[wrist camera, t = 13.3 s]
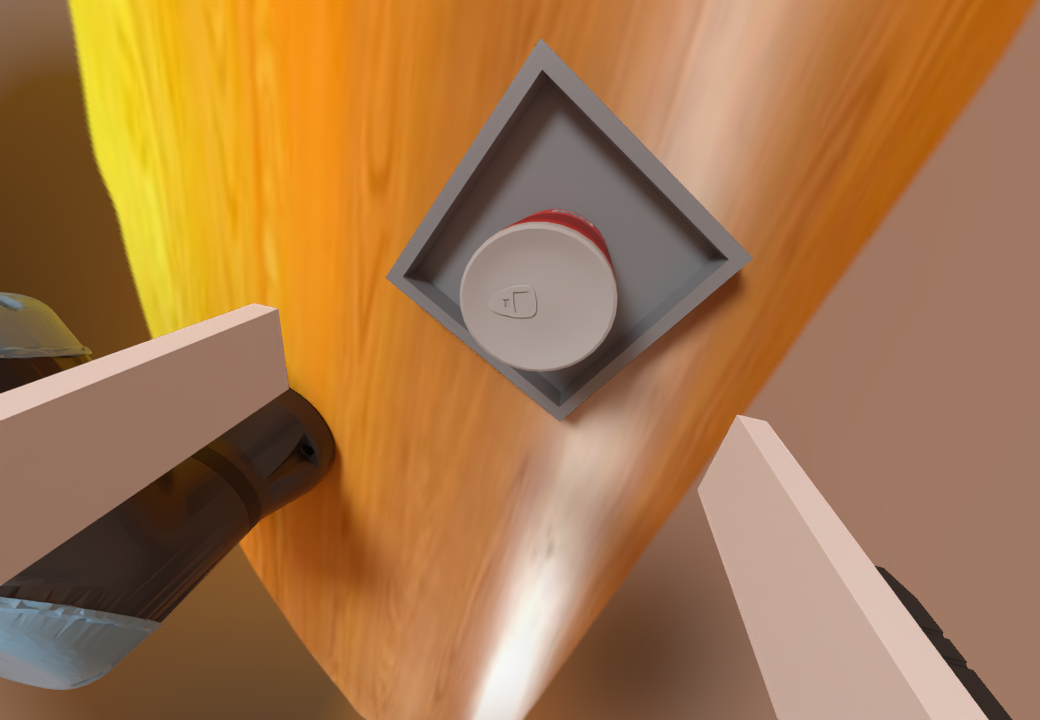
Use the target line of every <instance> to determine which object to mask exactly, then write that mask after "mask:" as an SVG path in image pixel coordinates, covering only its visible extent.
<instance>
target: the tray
mask: <svg viewBox="0 0 1040 720" xmlns="http://www.w3.org/2000/svg"><path fill="white" fill-rule="evenodd" d="M549 209H562V210H567V211H572V212H574V213H577V214H579V215H581V216H583V217H585V218H586V219H587V220H589V221H590V222H592V223H593V224H594V226H595V227H596V228H597V229H598V230H599V231H600V233H601V235H602V236H603V238H604V240H605V243H606V246H607V249H608V252H609V255H610V259H611V262H612V266H613V269H614V273H615V276H616V282H617V291H618V301H617V310H616V315H615V318H614V321H613V324H612V327H611V329H610V331H609V333H608V334H607V336H606V338H605V339H604V341H603V342H602V343H601V344H600V345H599V347H598V348H597V349H596V350H595V351H594V352H593V353H591V354H590V355H589V356H587V357H586V358H585V359H583V360H581V361H579V362H577V363H575V364H573V365H571V366H569V367H565V368H562V369H558V370H553V371H543V372H540V371H527V370H523V369H518V368H514V367H512V366H509V365H507V364H505V363H502V362H500V361H499V360H497V359H496V358H494V357H492V356H491V355H489V354H488V353H487V352H486V351H485V350H484V349H483V348H482V347H480V346H479V344H478V343H477V342H476V341H475V339H474V338H473V337H472V335H471V334H470V332H469V330H468V328H467V326H466V324H465V322H464V319H463V315H462V312H461V307H460V287H461V280H462V277H463V274H464V271H465V268H466V266H467V264H468V263H469V261H470V259H471V258H472V256H473V255H474V253H475V252H476V251H477V250H478V249H479V248H480V246H481V245H482V244H483V243H484V242H485V241H486V240H488V239H489V238H490V237H492V236H493V235H495V234H496V233H498V232H499V231H501V230H502V229H504V228H506V227H508V226H510V225H512V224H514V223H516V222H518V221H520V220H522V219H524V218H526V217H528V216H530V215H532V214H534V213H537V212H540V211H544V210H549ZM752 259H753V258H752V257H751V256H750V255H749V253H748V252H747V251H746V250H745V249H744V248H743V247H742V246H741V245H740V244H739V243H738V242H737V241H736V240H735V239H734V238H733V237H732V236H731V235H730V234H729V233H728V232H727V231H726V230H725V229H724V228H723V227H722V225H721V224H720V223H719V222H718V221H717V220H716V219H715V218H714V217H713V216H712V215H711V214H710V213H709V212H708V211H707V210H706V209H705V208H704V207H703V206H702V205H701V204H700V203H699V202H698V201H697V200H696V199H695V197H694V196H693V195H692V194H691V193H690V192H689V191H688V190H687V189H686V188H685V187H684V186H683V185H682V184H681V183H680V182H679V181H678V180H677V179H676V178H675V177H674V176H673V175H672V174H671V173H670V172H669V171H668V169H667V168H666V167H665V166H664V165H663V164H662V163H661V162H660V161H659V160H658V159H657V158H656V157H655V156H654V155H653V154H652V153H651V152H650V151H649V150H648V149H647V148H646V147H645V146H644V145H643V144H642V143H641V141H640V140H639V139H638V138H637V137H636V136H635V135H634V134H633V133H632V132H631V131H630V130H629V129H628V128H627V127H626V126H625V125H624V124H623V123H622V122H621V121H620V120H619V119H618V118H617V117H616V116H615V115H614V113H613V112H612V111H611V110H610V109H609V108H608V107H607V106H606V105H605V104H604V103H603V102H602V101H601V100H600V99H599V98H598V97H597V96H596V95H595V94H594V93H593V92H592V91H591V90H590V89H589V88H588V87H587V85H586V84H585V83H584V82H583V81H582V80H581V79H580V78H579V77H578V76H577V75H576V74H575V73H574V72H573V71H572V70H571V69H570V68H569V67H568V66H567V65H566V64H565V63H564V62H563V61H562V60H561V59H560V57H559V56H558V55H557V54H556V53H555V52H554V51H553V50H552V49H551V48H550V47H549V46H548V45H547V44H546V43H545V42H544V41H543V40H542V39H541V38H540V40H539V41H538V43H537V45H536V46H535V48H534V49H533V51H532V52H531V54H530V55H529V57H528V58H527V60H526V62H525V63H524V65H523V66H522V68H521V69H520V71H519V72H518V74H517V75H516V77H515V79H514V80H513V82H512V83H511V85H510V86H509V88H508V89H507V91H506V92H505V94H504V96H503V97H502V99H501V100H500V102H499V103H498V105H497V106H496V108H495V109H494V111H493V113H492V114H491V116H490V117H489V119H488V120H487V122H486V123H485V125H484V126H483V128H482V130H481V131H480V133H479V134H478V136H477V137H476V139H475V140H474V142H473V144H472V145H471V147H470V148H469V150H468V151H467V153H466V154H465V156H464V157H463V159H462V161H461V162H460V164H459V165H458V167H457V168H456V170H455V171H454V173H453V174H452V176H451V178H450V179H449V181H448V182H447V184H446V185H445V187H444V188H443V190H442V191H441V193H440V195H439V196H438V198H437V199H436V201H435V202H434V204H433V205H432V207H431V208H430V210H429V212H428V213H427V215H426V216H425V218H424V219H423V221H422V222H421V224H420V225H419V227H418V229H417V230H416V232H415V233H414V235H413V236H412V238H411V239H410V241H409V242H408V244H407V246H406V247H405V249H404V250H403V252H402V253H401V255H400V256H399V258H398V260H397V261H396V263H395V264H394V266H393V267H392V269H391V270H390V272H389V273H388V275H387V277H386V278H387V279H388V280H389V281H390V282H391V283H393V284H394V285H395V286H396V287H397V288H399V289H400V290H401V291H402V292H404V293H405V294H406V295H407V296H408V297H410V298H411V299H412V300H413V301H414V302H416V303H417V304H418V305H419V306H420V307H422V308H423V309H424V310H425V311H427V312H428V313H429V314H430V315H431V316H433V317H434V318H435V319H436V320H437V321H439V322H440V323H441V324H442V325H443V326H445V327H446V328H447V329H448V330H449V331H451V332H452V333H453V334H454V335H456V336H457V337H458V338H459V339H460V340H462V341H463V342H464V343H465V344H466V345H468V346H469V347H470V348H471V349H472V350H474V351H475V352H476V353H477V354H479V355H480V356H481V357H482V358H483V359H485V360H486V361H487V362H488V363H489V364H491V365H492V366H493V367H494V368H495V369H497V370H498V371H499V372H500V373H502V374H503V375H504V376H505V377H506V378H508V379H509V380H510V381H511V382H512V383H514V384H515V385H516V386H517V387H518V388H520V389H521V390H522V391H523V392H525V393H526V394H527V395H528V396H529V397H531V398H532V399H533V400H534V401H535V402H537V403H538V404H539V405H540V406H541V407H543V408H544V409H545V410H546V411H548V412H549V413H550V414H551V415H552V416H554V417H555V418H556V419H557V420H558V421H561V420H562V419H564V418H565V417H566V416H567V415H568V414H569V413H571V412H572V411H573V410H574V409H575V408H577V407H578V406H579V405H580V404H581V403H583V402H584V401H585V400H586V399H587V398H588V397H590V396H591V395H592V394H593V393H594V392H596V391H597V390H598V389H599V388H600V387H601V386H603V385H604V384H605V383H606V382H607V381H609V380H610V379H611V378H612V377H613V376H614V375H616V374H617V373H618V372H619V371H620V370H622V369H623V368H624V367H625V366H626V365H628V364H629V363H630V362H631V361H632V360H633V359H635V358H636V357H637V356H638V355H639V354H641V353H642V352H643V351H644V350H645V349H646V348H648V347H649V346H650V345H651V344H652V343H654V342H655V341H656V340H657V339H658V338H660V337H661V336H662V335H663V334H664V333H665V332H667V331H668V330H669V329H670V328H671V327H673V326H674V325H675V324H676V323H677V322H678V321H680V320H681V319H682V318H683V317H684V316H686V315H687V314H688V313H689V312H690V311H691V310H693V309H694V308H695V307H696V306H697V305H699V304H700V303H701V302H702V301H703V300H705V299H706V298H707V297H708V296H709V295H710V294H712V293H713V292H714V291H715V290H716V289H718V288H719V287H720V286H721V285H722V284H723V283H725V282H726V281H727V280H728V279H729V278H731V277H732V276H733V275H734V274H735V273H736V272H738V271H739V270H740V269H741V268H742V267H744V266H745V265H746V264H747V263H748V262H750V261H751V260H752Z"/></svg>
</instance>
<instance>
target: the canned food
mask: <svg viewBox="0 0 1040 720" xmlns="http://www.w3.org/2000/svg"><path fill="white" fill-rule="evenodd" d="M617 301H618V291H617V282H616V276H615V273H614V269H613V266H612V262H611V259H610V255H609V252H608V249H607V246H606V243H605V240H604V238H603V236H602V235H601V233H600V231H599V230H598V229H597V228H596V227H595V226H594V224H593V223H592V222H590V221H589V220H587V219H586V218H585V217H583V216H581V215H579V214H577V213H574V212H572V211H567V210H562V209H549V210H544V211H540V212H537V213H534V214H532V215H530V216H528V217H526V218H524V219H522V220H520V221H518V222H516V223H514V224H512V225H510V226H508V227H506V228H504V229H502V230H501V231H499V232H498V233H496V234H495V235H493V236H492V237H490V238H489V239H488V240H486V241H485V242H484V243H483V244H482V245H481V246H480V248H479V249H478V250H477V251H476V252H475V253H474V255H473V256H472V258H471V259H470V261H469V263H468V264H467V266H466V268H465V271H464V274H463V277H462V280H461V287H460V307H461V312H462V315H463V319H464V322H465V324H466V326H467V328H468V330H469V332H470V334H471V335H472V337H473V338H474V339H475V341H476V342H477V343H478V344H479V346H480V347H482V348H483V349H484V350H485V351H486V352H487V353H488V354H489V355H491V356H492V357H494V358H496V359H497V360H499V361H500V362H502V363H505V364H507V365H509V366H512V367H514V368H518V369H523V370H527V371H540V372H543V371H553V370H558V369H562V368H565V367H569V366H571V365H573V364H575V363H577V362H579V361H581V360H583V359H585V358H586V357H587V356H589V355H590V354H591V353H593V352H594V351H595V350H596V349H597V348H598V347H599V345H600V344H601V343H602V342H603V341H604V339H605V338H606V336H607V334H608V333H609V331H610V329H611V327H612V324H613V321H614V318H615V315H616V310H617Z"/></svg>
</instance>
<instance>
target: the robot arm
mask: <svg viewBox="0 0 1040 720" xmlns="http://www.w3.org/2000/svg"><path fill="white" fill-rule="evenodd" d="M91 353H92V352H91V351H90V349H89V348H87V347H84V346H82V345H81V344H80V343H79V341H78V340H77V339H76V338H75V337H74V336H73V334H72V333H71V332H70V331H69V330H68V328H67V327H66V326H65V325H64V323H63V322H62V321H61V320H60V318H59V317H58V316H57V315H56V314H55V313H54V311H52V309H51V308H49V307H48V306H47V305H45V304H44V303H42V302H40V301H38V300H36V299H34V298H31V297H28V296H24V295H19V294H13V293H0V677H3V678H6V679H9V680H13V681H16V682H20V683H24V684H28V685H32V686H37V687H42V688H48V689H57V690H60V689H61V690H66V689H74V688H78V687H82V686H85V685H88V684H90V683H92V682H94V681H96V680H98V679H99V678H101V677H102V676H104V675H105V674H107V673H108V672H109V671H110V670H112V669H113V668H114V667H115V666H116V665H117V664H118V663H119V662H120V661H121V660H122V659H124V658H125V657H126V656H127V655H128V654H129V653H130V652H131V651H132V650H133V649H134V648H135V647H137V646H138V645H139V644H140V643H141V642H142V641H143V640H144V639H145V638H146V637H148V636H149V634H151V633H152V632H154V631H156V630H157V629H158V628H159V627H160V626H161V622H162V621H163V620H164V619H165V618H166V617H167V616H168V615H169V614H170V613H171V612H172V611H173V610H174V609H175V608H176V607H177V606H178V605H179V604H180V603H181V601H183V600H184V598H185V597H186V596H187V595H188V594H189V593H190V592H191V591H192V590H193V589H194V588H195V587H196V586H197V585H198V584H199V583H200V582H201V581H202V580H203V579H204V578H205V577H206V576H207V575H208V574H209V573H210V572H211V571H212V570H213V569H214V568H215V566H216V565H217V564H218V563H219V562H220V561H221V560H222V559H223V558H224V557H225V556H226V555H227V554H228V553H229V552H230V551H231V550H232V549H233V548H234V547H235V546H236V545H237V544H238V543H239V542H240V541H241V540H242V539H243V538H244V537H245V535H246V534H247V533H248V532H249V531H250V530H251V529H252V528H253V527H254V526H255V525H256V524H257V523H258V522H259V521H260V520H261V519H263V518H264V517H266V516H268V515H270V514H271V513H273V512H275V511H276V510H278V509H280V508H282V507H283V506H285V505H287V504H289V503H290V502H292V501H294V500H295V499H297V498H299V497H301V496H302V495H304V494H306V493H308V492H309V491H311V490H312V489H313V488H314V487H315V486H316V485H317V484H318V483H319V482H320V481H321V480H322V479H323V478H324V477H325V476H326V474H327V473H328V472H329V471H330V469H331V467H332V465H333V462H334V454H335V453H334V444H333V440H332V437H331V434H330V432H329V429H328V428H327V426H326V424H325V422H324V421H323V419H322V418H321V416H320V415H319V414H318V413H317V411H316V410H315V409H314V408H313V407H312V406H311V405H310V404H309V403H308V402H307V401H306V400H305V399H304V398H302V397H301V396H300V395H299V394H297V393H296V392H294V391H293V390H291V389H290V388H289V385H288V378H287V370H286V363H285V355H284V348H283V340H282V333H281V325H280V318H279V310H278V309H277V308H273V307H269V306H264V305H260V304H256V303H253V304H250V305H248V306H245V307H242V308H239V309H236V310H234V311H231V312H228V313H225V314H222V315H220V316H217V317H214V318H211V319H208V320H206V321H203V322H200V323H197V324H194V325H192V326H189V327H186V328H183V329H180V330H178V331H175V332H172V333H169V334H166V335H164V336H161V337H158V338H155V339H152V340H150V341H147V342H144V343H142V344H138V345H136V346H133V347H130V348H127V349H124V350H122V351H119V352H116V353H113V354H110V355H108V356H105V357H102V358H99V359H96V360H94V361H92V360H91V359H90V357H89V356H88V354H91ZM697 491H698V493H699V496H700V499H701V502H702V505H703V508H704V510H705V513H706V516H707V519H708V522H709V525H710V528H711V530H712V533H713V536H714V539H715V542H716V545H717V548H718V550H719V553H720V556H721V559H722V562H723V565H724V567H725V570H726V573H727V576H728V579H729V581H730V585H731V587H732V590H733V593H734V596H735V599H736V602H737V605H738V607H739V610H740V613H741V616H742V619H743V622H744V624H745V627H746V630H747V633H748V636H749V639H750V642H751V644H752V647H753V650H754V653H755V656H756V659H757V661H758V664H759V667H760V670H761V673H762V675H763V678H764V681H765V684H766V687H767V690H768V693H769V696H770V699H771V701H772V704H773V707H774V710H775V713H776V716H777V718H778V720H1012V719H1011V718H1010V716H1009V715H1008V714H1007V712H1006V711H1005V710H1004V709H1003V707H1002V706H1001V705H1000V703H999V702H998V701H997V700H996V698H995V697H994V696H993V695H992V693H991V692H990V691H989V689H988V688H987V687H986V686H985V684H984V683H983V682H982V681H981V679H980V678H979V677H978V676H977V674H976V673H975V672H974V671H973V670H971V669H968V668H967V666H966V663H967V662H966V660H965V659H964V658H963V656H962V655H961V654H960V653H959V651H958V650H957V649H956V648H955V646H954V645H953V644H952V643H951V641H950V640H949V639H946V638H944V637H943V631H942V630H941V629H940V628H939V626H938V625H937V624H936V622H935V621H934V620H933V618H932V617H931V616H930V615H929V613H928V612H927V611H926V610H925V608H924V607H923V606H922V604H921V603H920V602H919V601H918V599H917V598H915V596H914V595H912V594H911V593H910V592H909V591H908V590H907V589H906V588H905V587H904V586H903V585H901V584H900V583H899V582H898V581H897V580H896V579H895V578H894V577H893V576H892V575H891V574H890V573H888V572H887V571H886V570H885V569H884V568H881V567H877V566H874V565H873V564H872V562H871V561H870V560H869V558H868V557H867V556H866V554H865V553H864V552H863V550H862V549H861V547H860V546H859V545H858V544H857V542H856V541H855V539H854V538H853V537H852V535H851V534H850V533H849V531H848V530H847V529H846V527H845V526H844V525H843V523H842V522H841V521H840V519H839V518H838V517H837V515H836V514H835V513H834V511H833V510H832V508H831V507H830V506H829V504H828V503H827V502H826V500H825V499H824V498H823V496H822V495H821V494H820V492H819V491H818V490H817V488H816V487H815V486H814V484H813V483H812V482H811V480H810V479H809V478H808V476H807V475H806V474H805V472H804V471H803V470H802V468H801V467H800V465H799V464H798V463H797V461H796V460H795V459H794V457H793V456H792V455H791V453H790V452H789V451H788V449H787V448H786V447H785V445H784V444H783V443H782V441H781V440H780V439H779V437H778V436H777V435H776V433H775V432H774V431H773V429H772V428H771V426H770V425H769V424H768V422H766V421H762V420H758V419H754V418H749V417H745V416H741V415H737V416H736V418H735V420H734V422H733V423H732V425H731V427H730V429H729V431H728V433H727V435H726V437H725V439H724V440H723V442H722V444H721V446H720V448H719V450H718V452H717V454H716V456H715V457H714V459H713V461H712V463H711V465H710V467H709V469H708V471H707V473H706V474H705V476H704V478H703V480H702V482H701V484H700V486H699V488H698V490H697Z"/></svg>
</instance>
